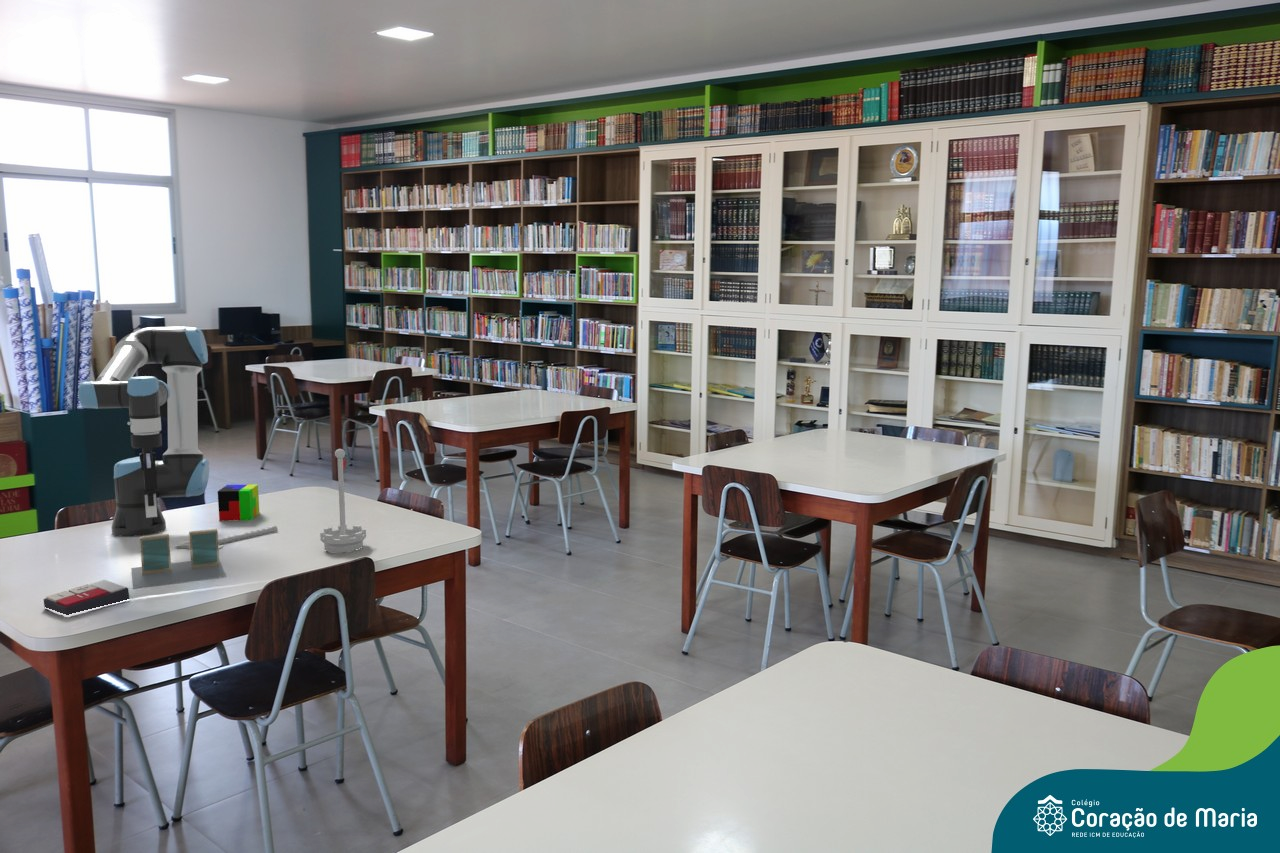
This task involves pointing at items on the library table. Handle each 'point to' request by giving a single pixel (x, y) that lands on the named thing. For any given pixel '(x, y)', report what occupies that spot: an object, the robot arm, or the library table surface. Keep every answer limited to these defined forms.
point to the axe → (237, 537)
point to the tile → (155, 554)
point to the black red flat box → (86, 597)
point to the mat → (176, 575)
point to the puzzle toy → (238, 502)
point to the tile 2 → (204, 548)
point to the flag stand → (342, 521)
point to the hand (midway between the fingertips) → (151, 516)
